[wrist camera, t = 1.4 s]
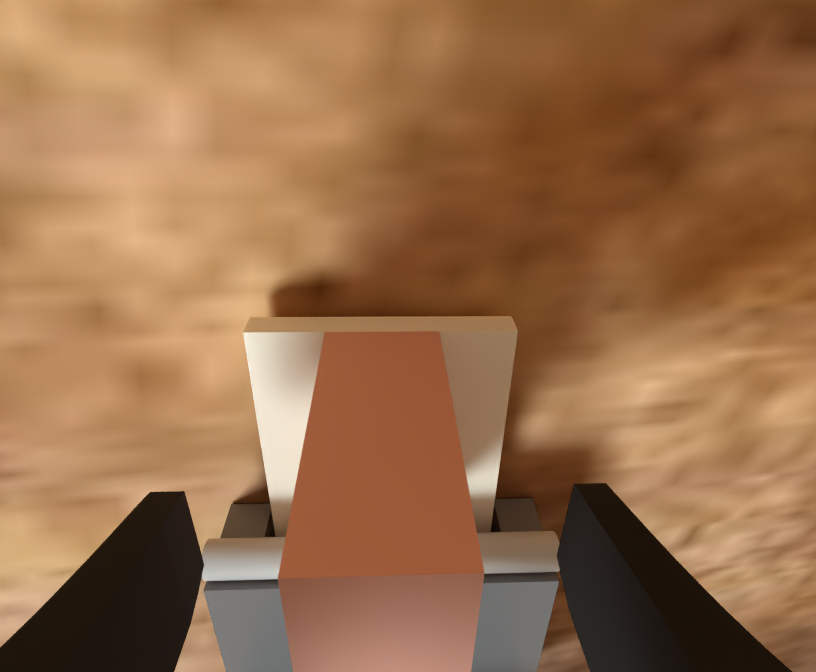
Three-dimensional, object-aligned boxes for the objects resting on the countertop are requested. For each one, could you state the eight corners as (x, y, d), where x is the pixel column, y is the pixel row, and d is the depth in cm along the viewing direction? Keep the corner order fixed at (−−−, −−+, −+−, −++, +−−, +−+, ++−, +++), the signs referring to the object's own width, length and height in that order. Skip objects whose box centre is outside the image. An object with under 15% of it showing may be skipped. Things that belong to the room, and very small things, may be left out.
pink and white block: (464, 679, 20) (498, 942, 14) (304, 685, 20) (272, 955, 14) (511, 316, 12) (625, 569, 7) (250, 317, 12) (128, 582, 6)
